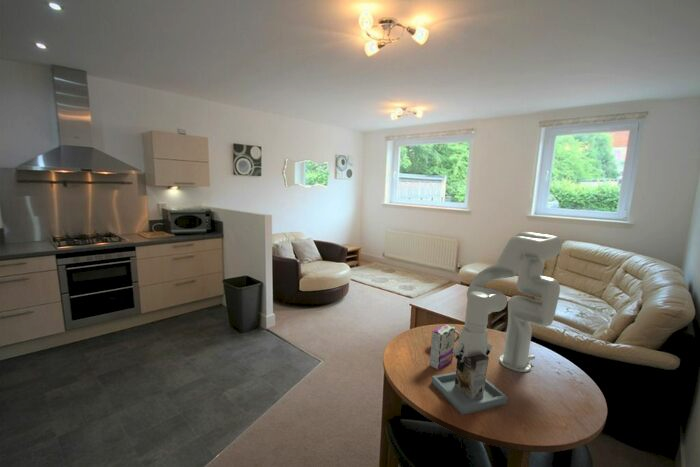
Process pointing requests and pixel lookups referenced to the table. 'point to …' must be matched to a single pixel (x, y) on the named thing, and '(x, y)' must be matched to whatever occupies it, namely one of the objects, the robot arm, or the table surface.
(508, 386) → the table surface
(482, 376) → the coffee box
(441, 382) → the tray
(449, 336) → the candy bar box
